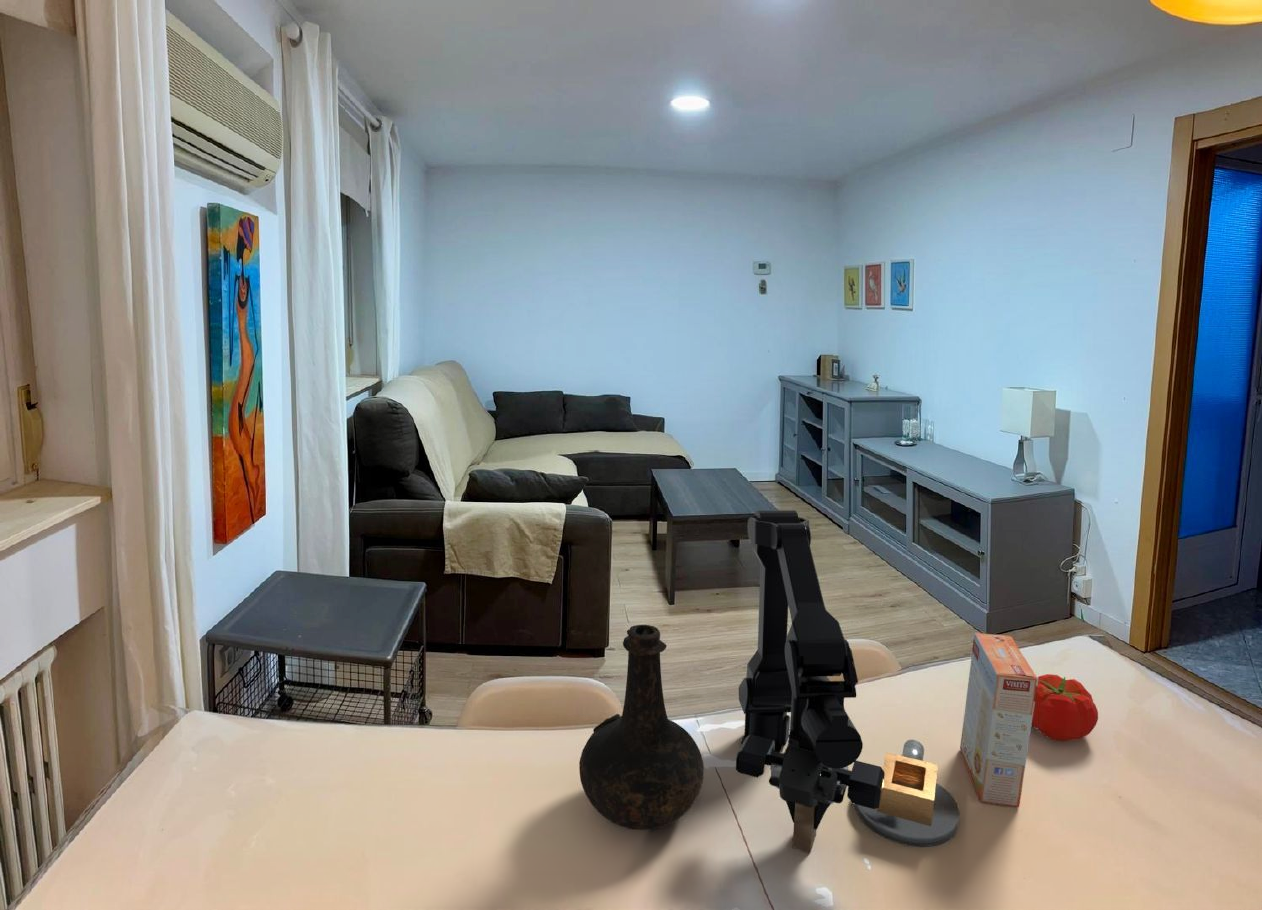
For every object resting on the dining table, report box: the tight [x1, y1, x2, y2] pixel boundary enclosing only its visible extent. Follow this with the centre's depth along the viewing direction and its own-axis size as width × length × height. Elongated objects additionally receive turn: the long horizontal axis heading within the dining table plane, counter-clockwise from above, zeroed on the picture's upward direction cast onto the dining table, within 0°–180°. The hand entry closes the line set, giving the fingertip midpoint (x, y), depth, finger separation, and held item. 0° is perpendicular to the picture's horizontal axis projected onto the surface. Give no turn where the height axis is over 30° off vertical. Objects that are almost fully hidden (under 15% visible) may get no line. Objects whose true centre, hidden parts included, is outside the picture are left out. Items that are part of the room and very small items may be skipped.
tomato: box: [1031, 674, 1099, 742], centre depth 132 cm, size 13×12×8 cm
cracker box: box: [959, 632, 1038, 808], centre depth 118 cm, size 14×6×21 cm, turn 168°
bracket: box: [854, 739, 960, 848], centre depth 113 cm, size 14×17×6 cm
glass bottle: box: [578, 624, 705, 831], centre depth 109 cm, size 18×18×28 cm
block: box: [792, 803, 818, 854], centre depth 105 cm, size 2×4×8 cm, turn 156°
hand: (805, 824), depth 105 cm, fingers closed on block, 2 cm apart
